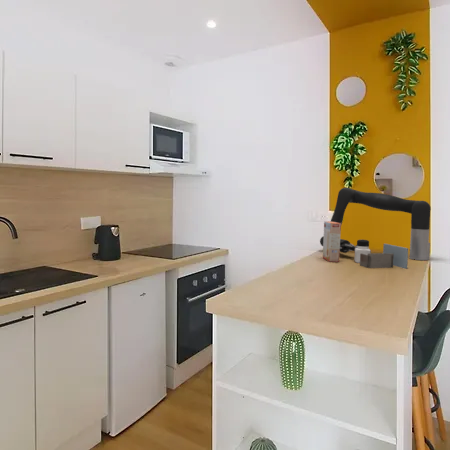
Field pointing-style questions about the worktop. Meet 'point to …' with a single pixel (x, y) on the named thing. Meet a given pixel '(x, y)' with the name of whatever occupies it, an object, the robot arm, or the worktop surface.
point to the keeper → (377, 260)
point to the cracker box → (331, 241)
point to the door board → (397, 255)
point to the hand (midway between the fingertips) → (357, 249)
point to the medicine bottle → (361, 249)
